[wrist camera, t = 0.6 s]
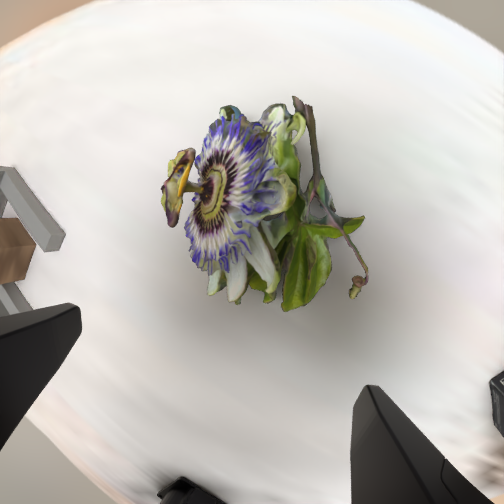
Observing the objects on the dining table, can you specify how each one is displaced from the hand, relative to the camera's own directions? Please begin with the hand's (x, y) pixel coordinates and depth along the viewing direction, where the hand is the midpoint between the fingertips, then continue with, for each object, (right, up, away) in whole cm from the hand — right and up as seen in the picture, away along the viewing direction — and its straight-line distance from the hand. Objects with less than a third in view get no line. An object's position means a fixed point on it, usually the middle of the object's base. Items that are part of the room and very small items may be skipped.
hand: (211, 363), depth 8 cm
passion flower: (+3, +6, +13) cm, 15 cm away
